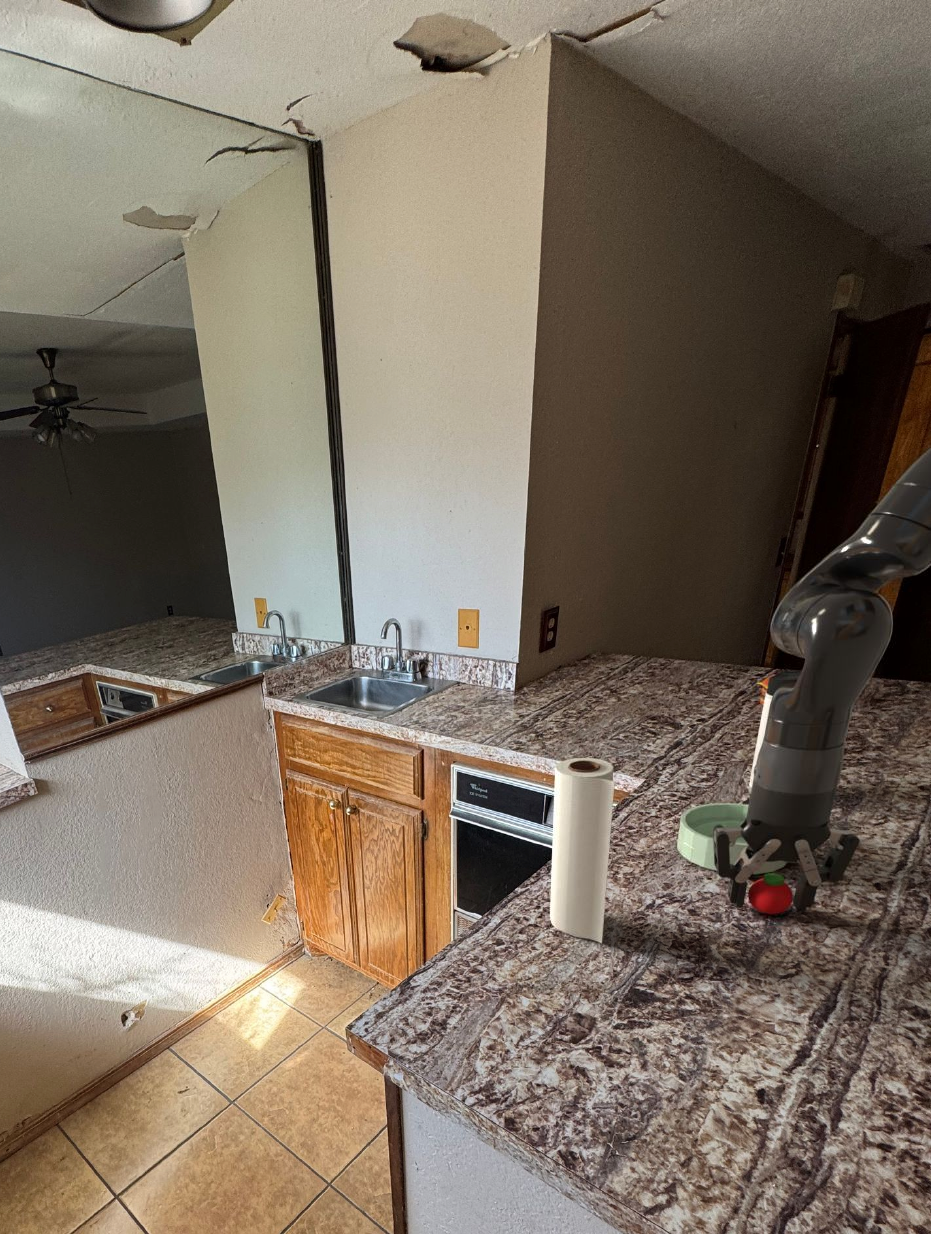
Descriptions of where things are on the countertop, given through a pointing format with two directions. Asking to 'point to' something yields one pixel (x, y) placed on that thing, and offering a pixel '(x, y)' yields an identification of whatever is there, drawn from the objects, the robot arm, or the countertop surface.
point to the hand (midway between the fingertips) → (767, 905)
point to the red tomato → (770, 894)
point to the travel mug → (772, 687)
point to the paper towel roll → (581, 846)
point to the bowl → (699, 834)
